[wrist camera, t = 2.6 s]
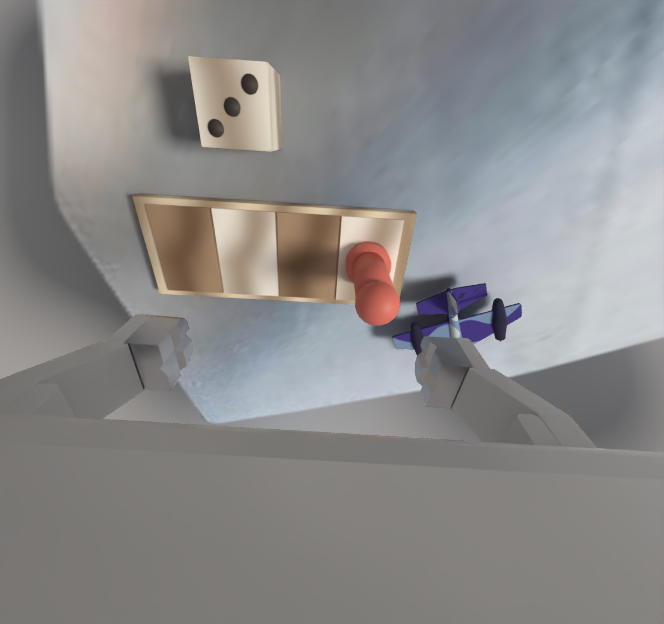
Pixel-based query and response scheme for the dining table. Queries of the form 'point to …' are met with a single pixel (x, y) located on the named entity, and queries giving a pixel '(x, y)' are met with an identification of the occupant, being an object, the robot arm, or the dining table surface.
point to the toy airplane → (459, 328)
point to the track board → (265, 246)
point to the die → (237, 103)
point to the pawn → (372, 283)
